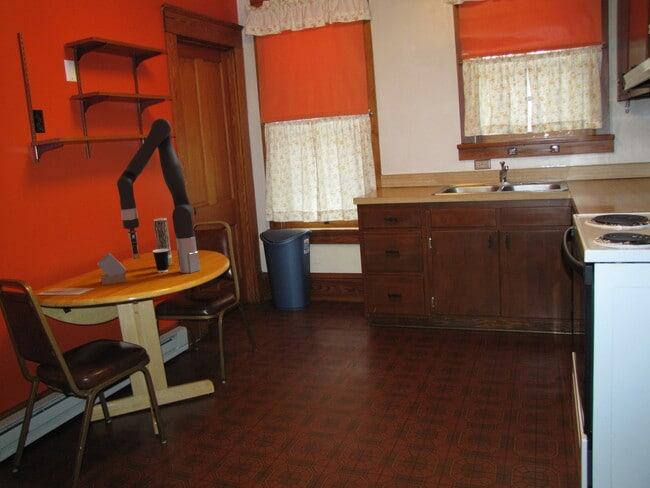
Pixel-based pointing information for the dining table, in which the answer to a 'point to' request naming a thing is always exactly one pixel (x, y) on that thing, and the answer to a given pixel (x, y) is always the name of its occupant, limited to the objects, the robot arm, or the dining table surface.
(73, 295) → the dining table surface
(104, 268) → the socket
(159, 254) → the dixie cup
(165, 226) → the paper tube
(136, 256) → the dowel
